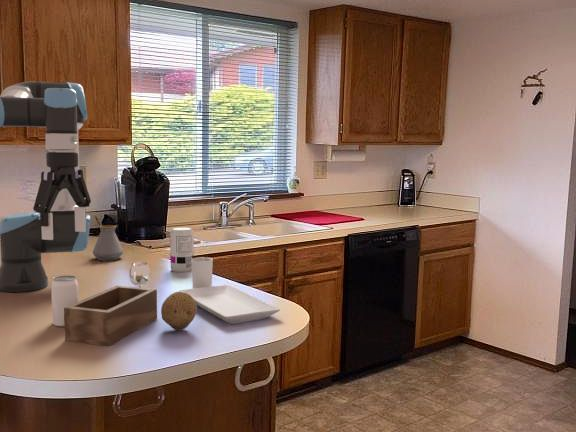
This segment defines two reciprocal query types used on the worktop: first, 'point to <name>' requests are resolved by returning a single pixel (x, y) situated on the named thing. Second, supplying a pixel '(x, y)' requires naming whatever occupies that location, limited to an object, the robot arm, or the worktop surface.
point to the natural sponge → (179, 310)
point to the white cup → (202, 272)
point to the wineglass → (139, 273)
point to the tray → (231, 303)
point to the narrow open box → (110, 315)
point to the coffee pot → (107, 243)
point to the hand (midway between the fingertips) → (64, 235)
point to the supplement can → (181, 249)
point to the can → (63, 297)
